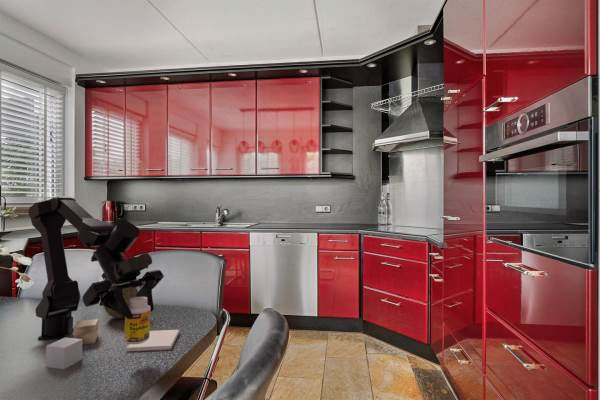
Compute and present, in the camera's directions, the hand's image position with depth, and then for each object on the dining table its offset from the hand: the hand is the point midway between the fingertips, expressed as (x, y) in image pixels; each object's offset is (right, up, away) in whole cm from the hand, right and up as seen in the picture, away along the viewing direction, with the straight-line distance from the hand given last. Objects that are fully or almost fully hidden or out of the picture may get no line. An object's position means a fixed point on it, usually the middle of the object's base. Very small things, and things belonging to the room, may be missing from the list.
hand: (142, 314), depth 79 cm
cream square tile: (-2, -12, +12) cm, 17 cm away
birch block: (-22, -12, +12) cm, 28 cm away
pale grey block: (-19, -12, 0) cm, 22 cm away
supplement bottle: (-1, -7, +1) cm, 7 cm away
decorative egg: (-22, -12, +30) cm, 39 cm away
